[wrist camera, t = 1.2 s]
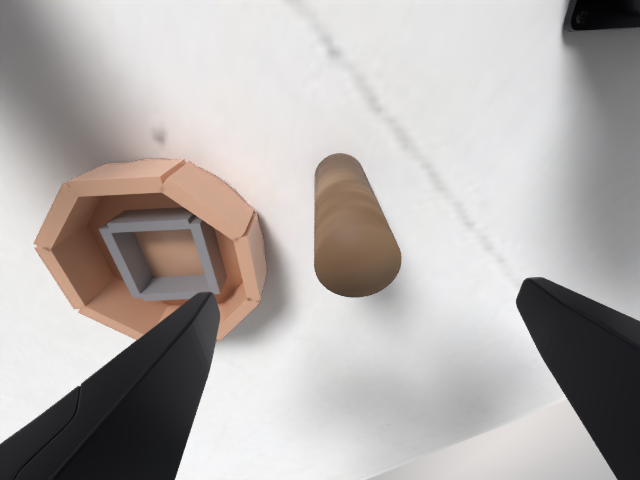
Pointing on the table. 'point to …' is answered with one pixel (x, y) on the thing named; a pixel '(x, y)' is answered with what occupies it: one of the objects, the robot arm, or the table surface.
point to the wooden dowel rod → (351, 231)
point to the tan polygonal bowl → (152, 244)
